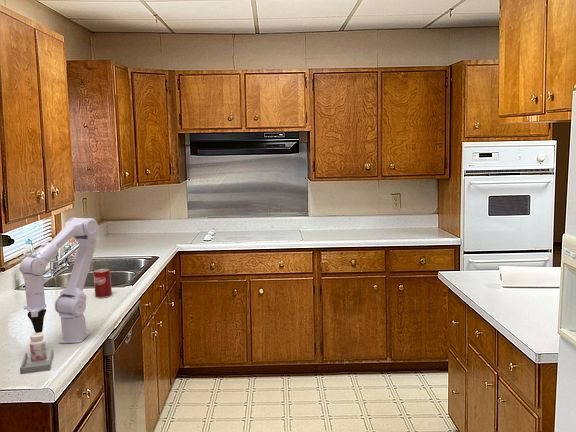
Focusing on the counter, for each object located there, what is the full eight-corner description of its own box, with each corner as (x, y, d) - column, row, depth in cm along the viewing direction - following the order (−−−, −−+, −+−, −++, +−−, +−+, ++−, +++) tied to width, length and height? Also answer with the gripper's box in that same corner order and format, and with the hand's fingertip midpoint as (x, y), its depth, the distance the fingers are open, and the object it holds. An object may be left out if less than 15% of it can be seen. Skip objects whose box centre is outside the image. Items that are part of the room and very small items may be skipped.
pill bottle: (28, 362, 214) (25, 337, 213) (36, 356, 218) (33, 332, 217) (42, 362, 213) (39, 337, 212) (49, 357, 218) (47, 332, 216)
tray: (26, 357, 218) (25, 352, 217) (53, 354, 220) (53, 349, 220) (20, 373, 203) (19, 368, 203) (49, 370, 205) (49, 364, 205)
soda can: (103, 299, 291) (101, 272, 289) (91, 297, 294) (89, 271, 293) (115, 295, 297) (113, 269, 295) (104, 293, 300) (102, 267, 299)
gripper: (24, 289, 225) (28, 327, 227) (19, 299, 212) (23, 340, 213) (46, 287, 227) (50, 325, 229) (42, 297, 213) (46, 337, 215)
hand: (38, 332), depth 221 cm, fingers closed
